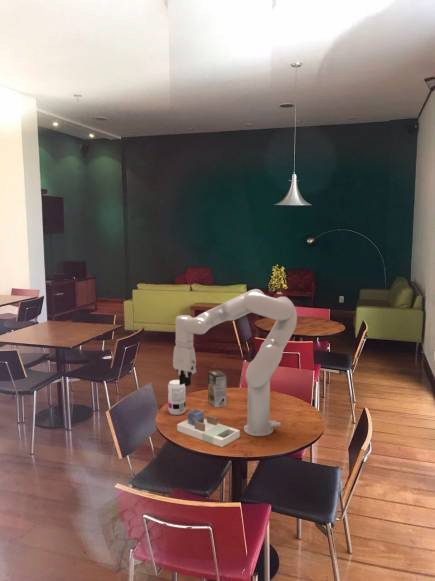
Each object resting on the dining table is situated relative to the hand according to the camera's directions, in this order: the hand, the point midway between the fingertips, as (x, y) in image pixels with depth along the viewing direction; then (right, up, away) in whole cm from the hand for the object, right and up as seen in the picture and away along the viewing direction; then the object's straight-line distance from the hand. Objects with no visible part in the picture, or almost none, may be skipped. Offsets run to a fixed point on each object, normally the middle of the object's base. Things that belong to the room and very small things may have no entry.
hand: (185, 384), depth 206 cm
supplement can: (-5, -17, +19) cm, 26 cm away
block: (+5, -16, -2) cm, 17 cm away
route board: (+10, -20, -6) cm, 23 cm away
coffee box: (+14, -16, +29) cm, 36 cm away
